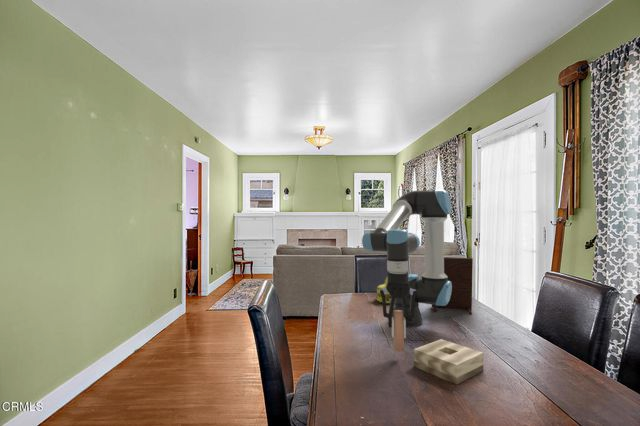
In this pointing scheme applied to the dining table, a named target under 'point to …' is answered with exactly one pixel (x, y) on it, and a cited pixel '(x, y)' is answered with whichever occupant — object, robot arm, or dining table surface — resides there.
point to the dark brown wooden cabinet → (459, 283)
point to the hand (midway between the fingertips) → (398, 336)
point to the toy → (387, 295)
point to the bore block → (448, 360)
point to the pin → (398, 331)
